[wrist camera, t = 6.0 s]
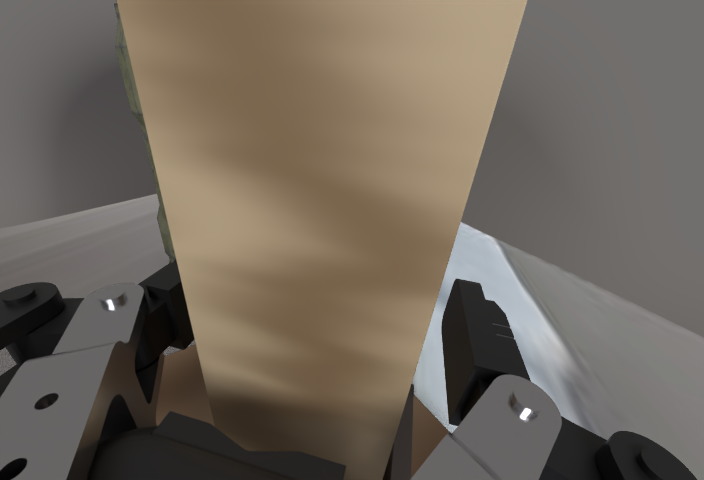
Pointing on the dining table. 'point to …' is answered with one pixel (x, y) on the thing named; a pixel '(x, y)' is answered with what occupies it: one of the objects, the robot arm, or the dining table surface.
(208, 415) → the board with square socket
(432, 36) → the wooden square peg
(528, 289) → the dining table surface
